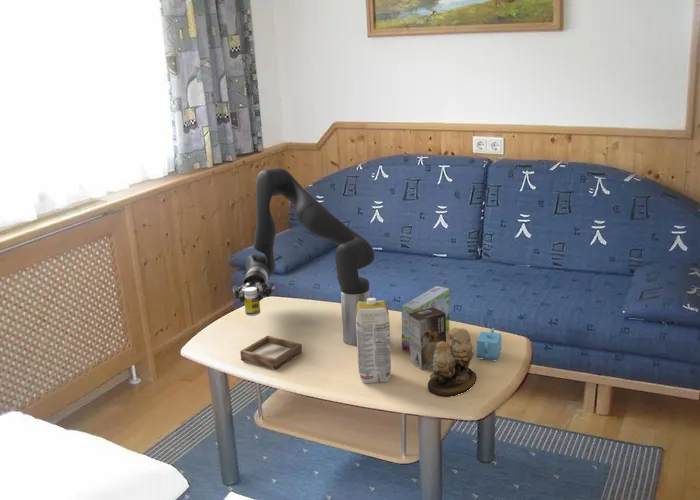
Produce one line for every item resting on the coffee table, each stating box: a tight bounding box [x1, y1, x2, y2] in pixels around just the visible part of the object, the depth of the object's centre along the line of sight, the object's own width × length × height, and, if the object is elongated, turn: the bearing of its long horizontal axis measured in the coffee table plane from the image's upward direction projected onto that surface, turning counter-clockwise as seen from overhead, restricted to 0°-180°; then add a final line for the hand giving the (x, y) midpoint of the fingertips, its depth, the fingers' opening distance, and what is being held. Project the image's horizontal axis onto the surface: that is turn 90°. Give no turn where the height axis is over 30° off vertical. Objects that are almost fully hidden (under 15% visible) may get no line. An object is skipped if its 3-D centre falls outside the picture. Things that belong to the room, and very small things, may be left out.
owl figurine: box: [427, 327, 478, 398], centre depth 202 cm, size 18×12×17 cm, turn 142°
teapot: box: [476, 327, 502, 361], centre depth 219 cm, size 12×6×8 cm, turn 159°
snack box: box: [401, 285, 451, 353], centre depth 230 cm, size 21×6×15 cm, turn 143°
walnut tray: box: [239, 335, 303, 370], centre depth 226 cm, size 14×13×3 cm
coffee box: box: [409, 307, 447, 370], centre depth 215 cm, size 9×6×16 cm
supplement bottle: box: [243, 287, 261, 317], centre depth 230 cm, size 5×5×8 cm
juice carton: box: [356, 297, 392, 384], centre depth 206 cm, size 9×8×24 cm
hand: (250, 298), depth 227 cm, fingers closed on supplement bottle, 4 cm apart
